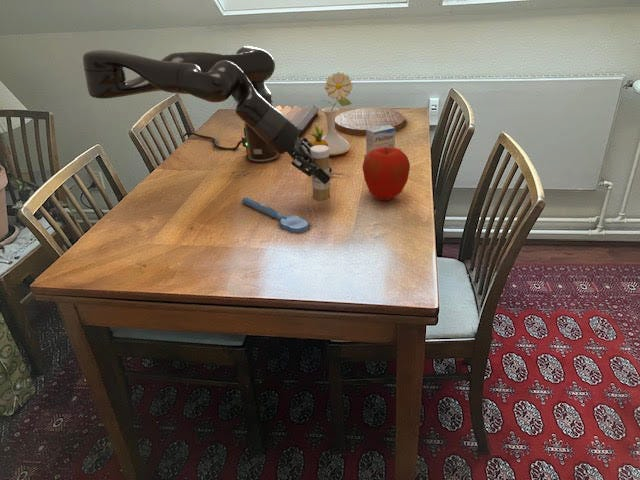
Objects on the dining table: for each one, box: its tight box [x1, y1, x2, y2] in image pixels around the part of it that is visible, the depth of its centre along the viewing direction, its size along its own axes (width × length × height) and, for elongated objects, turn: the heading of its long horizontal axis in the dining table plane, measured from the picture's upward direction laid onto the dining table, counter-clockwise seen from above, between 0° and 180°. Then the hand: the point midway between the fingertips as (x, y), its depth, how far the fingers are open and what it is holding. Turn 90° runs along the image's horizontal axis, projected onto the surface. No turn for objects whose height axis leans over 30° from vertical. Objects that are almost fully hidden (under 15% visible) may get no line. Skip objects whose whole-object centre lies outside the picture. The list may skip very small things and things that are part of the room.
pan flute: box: [274, 104, 319, 137], centre depth 194 cm, size 25×3×25 cm
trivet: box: [335, 107, 405, 136], centre depth 190 cm, size 25×25×2 cm
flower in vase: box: [321, 71, 354, 156], centre depth 161 cm, size 13×11×25 cm
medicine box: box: [365, 125, 396, 156], centre depth 161 cm, size 8×4×9 cm, turn 118°
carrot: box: [310, 125, 328, 147], centre depth 147 cm, size 5×5×15 cm
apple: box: [361, 147, 411, 201], centre depth 134 cm, size 12×12×14 cm
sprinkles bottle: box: [310, 145, 331, 203], centre depth 129 cm, size 5×5×13 cm
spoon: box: [241, 196, 309, 234], centre depth 132 cm, size 24×5×2 cm, turn 45°
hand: (328, 176), depth 129 cm, fingers closed on sprinkles bottle, 4 cm apart
